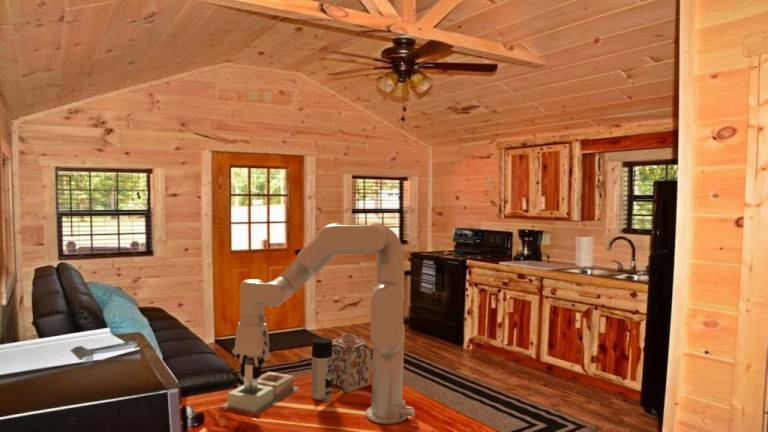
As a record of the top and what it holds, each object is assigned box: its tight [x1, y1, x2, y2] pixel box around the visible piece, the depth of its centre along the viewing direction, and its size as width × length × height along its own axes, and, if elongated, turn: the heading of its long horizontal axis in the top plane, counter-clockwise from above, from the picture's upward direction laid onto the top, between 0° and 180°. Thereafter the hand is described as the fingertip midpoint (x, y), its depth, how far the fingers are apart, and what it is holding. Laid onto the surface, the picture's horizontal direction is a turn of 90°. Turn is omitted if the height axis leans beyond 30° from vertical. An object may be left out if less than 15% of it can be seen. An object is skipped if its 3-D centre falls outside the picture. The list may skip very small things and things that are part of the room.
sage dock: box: [227, 384, 273, 412], centre depth 170 cm, size 10×10×4 cm
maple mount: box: [257, 371, 294, 398], centre depth 181 cm, size 10×10×4 cm
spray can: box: [311, 337, 333, 404], centre depth 178 cm, size 7×7×20 cm
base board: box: [219, 385, 300, 420], centre depth 176 cm, size 14×24×2 cm, turn 158°
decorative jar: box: [332, 333, 372, 394], centre depth 192 cm, size 12×12×18 cm
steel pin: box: [243, 356, 257, 395], centre depth 170 cm, size 4×4×11 cm
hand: (250, 376), depth 170 cm, fingers closed on steel pin, 4 cm apart
